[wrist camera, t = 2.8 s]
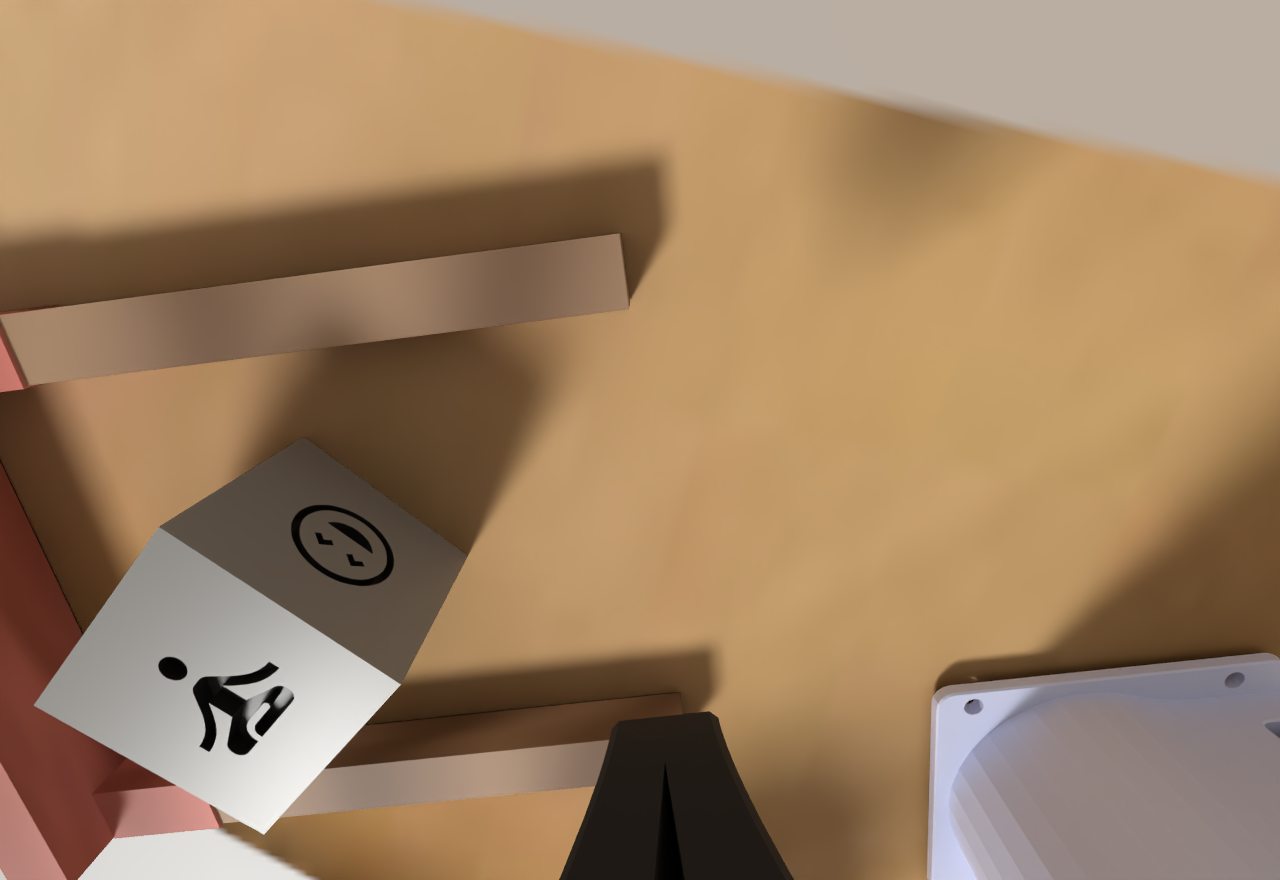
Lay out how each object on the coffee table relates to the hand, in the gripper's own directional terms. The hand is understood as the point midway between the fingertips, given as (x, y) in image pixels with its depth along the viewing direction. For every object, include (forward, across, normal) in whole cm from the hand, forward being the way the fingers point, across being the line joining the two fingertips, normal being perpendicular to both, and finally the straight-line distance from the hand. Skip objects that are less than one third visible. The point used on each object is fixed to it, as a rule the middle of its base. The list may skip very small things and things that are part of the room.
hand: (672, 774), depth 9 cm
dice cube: (+8, +8, 0) cm, 12 cm away
